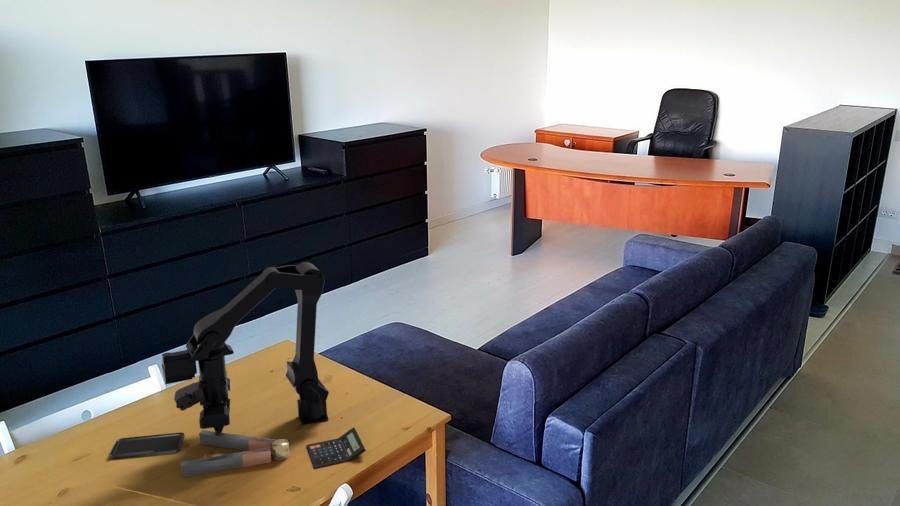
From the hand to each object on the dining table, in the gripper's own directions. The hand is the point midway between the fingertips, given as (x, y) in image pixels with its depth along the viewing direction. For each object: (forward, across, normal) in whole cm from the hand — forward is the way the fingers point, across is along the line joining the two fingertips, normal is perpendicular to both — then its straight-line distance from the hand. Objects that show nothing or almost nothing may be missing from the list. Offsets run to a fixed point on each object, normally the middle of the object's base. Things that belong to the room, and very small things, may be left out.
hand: (218, 433), depth 156 cm
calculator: (+2, +12, +26) cm, 28 cm away
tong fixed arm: (+2, +12, +2) cm, 12 cm away
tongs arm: (+2, +6, +5) cm, 8 cm away
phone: (+3, -2, -16) cm, 16 cm away
